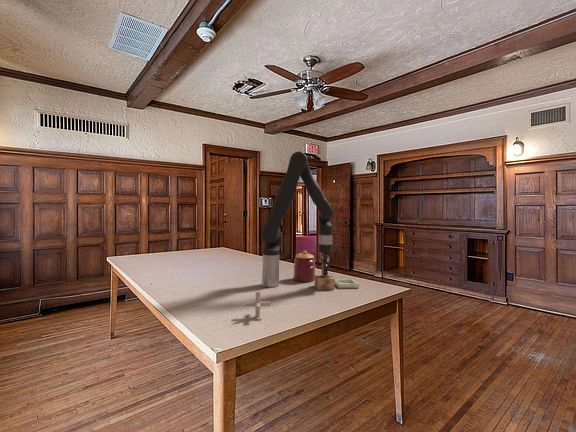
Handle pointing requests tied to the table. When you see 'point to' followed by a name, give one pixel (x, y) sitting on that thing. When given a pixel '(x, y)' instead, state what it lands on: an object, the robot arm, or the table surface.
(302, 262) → the canister
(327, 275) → the steel pin
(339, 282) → the tray
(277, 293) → the table surface
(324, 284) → the block
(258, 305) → the pipe connector
